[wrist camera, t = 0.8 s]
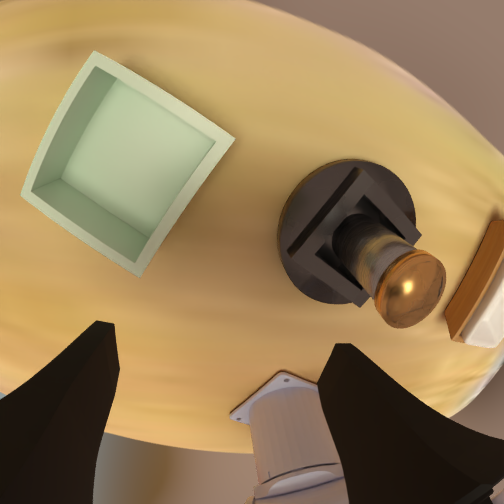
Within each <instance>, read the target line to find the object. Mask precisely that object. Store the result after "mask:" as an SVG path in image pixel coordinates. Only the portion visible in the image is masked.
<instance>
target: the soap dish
mask: <svg viewBox="0 0 504 504" xmlns="http://www.w3.org/2000/svg"><path fill="white" fill-rule="evenodd" d="M445 317H446V321H447V325H448V329H449V333H450V337H451V340H453V341H456V342H462V343H466V344H468V345H473V346H480V347H485V348H495V347H497V345H498V344H499V343H500V342H501V340H502V339H503V337H504V220H500V221H492V222H491V223H490V225H489V227H488V230H487V232H486V235H485V237H484V239H483V241H482V243H481V246H480V248H479V250H478V252H477V254H476V256H475V258H474V260H473V262H472V264H471V266H470V268H469V270H468V272H467V274H466V276H465V277H464V279H463V281H462V283H461V285H460V286H459V288H458V290H457V292H456V293H455V295H454V297H453V299H452V300H451V302H450V304H449V305H448V306H447V309H446V310H445Z"/></svg>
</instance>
